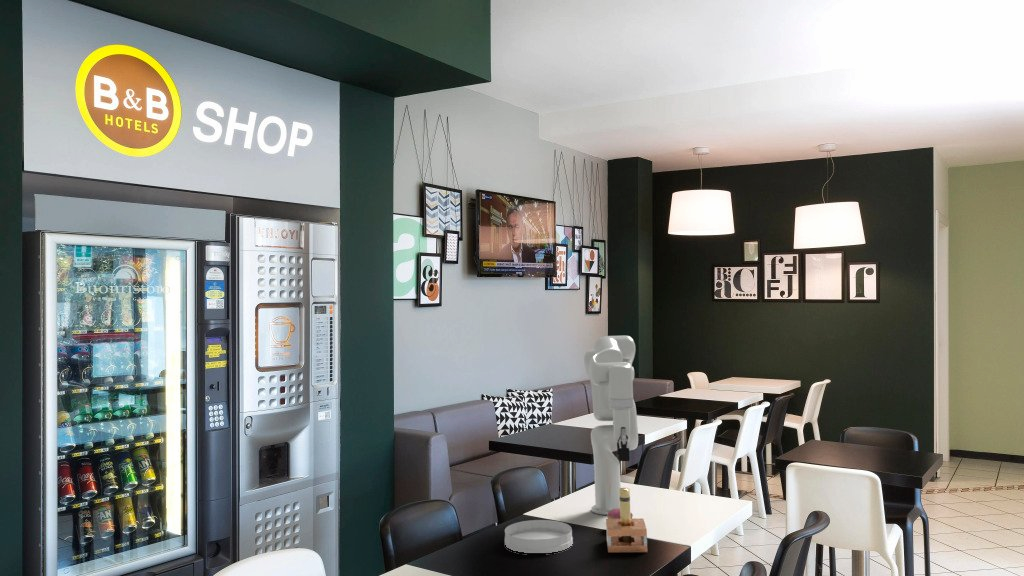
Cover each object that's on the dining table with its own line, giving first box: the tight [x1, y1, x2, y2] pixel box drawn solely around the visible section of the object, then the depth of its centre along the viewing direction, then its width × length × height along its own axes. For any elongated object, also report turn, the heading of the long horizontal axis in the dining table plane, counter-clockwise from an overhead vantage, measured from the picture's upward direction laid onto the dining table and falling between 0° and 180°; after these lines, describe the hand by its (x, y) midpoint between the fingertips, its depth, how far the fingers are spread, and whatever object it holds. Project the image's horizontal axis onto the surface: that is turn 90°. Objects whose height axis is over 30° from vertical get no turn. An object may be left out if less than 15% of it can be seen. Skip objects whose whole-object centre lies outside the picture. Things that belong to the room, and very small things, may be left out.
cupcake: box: [606, 508, 634, 519], centre depth 260 cm, size 9×8×12 cm
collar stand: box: [605, 518, 648, 553], centre depth 242 cm, size 12×12×7 cm
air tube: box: [619, 487, 631, 542], centre depth 242 cm, size 3×3×18 cm
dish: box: [504, 519, 574, 553], centre depth 247 cm, size 22×22×5 cm
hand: (623, 457), depth 243 cm, fingers open, 9 cm apart
